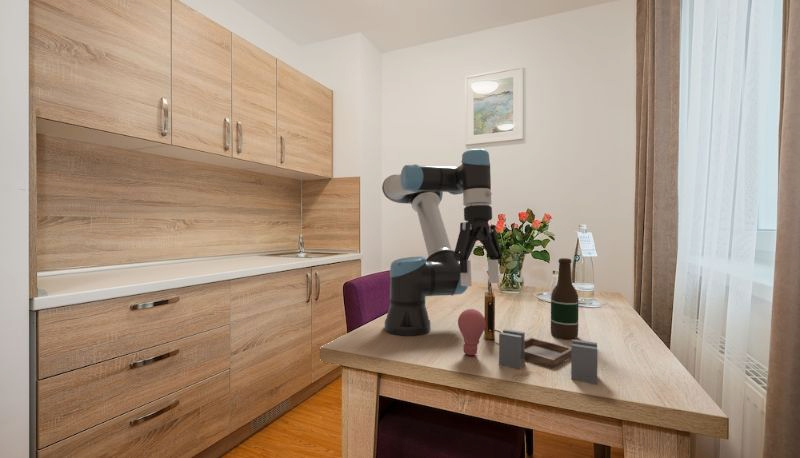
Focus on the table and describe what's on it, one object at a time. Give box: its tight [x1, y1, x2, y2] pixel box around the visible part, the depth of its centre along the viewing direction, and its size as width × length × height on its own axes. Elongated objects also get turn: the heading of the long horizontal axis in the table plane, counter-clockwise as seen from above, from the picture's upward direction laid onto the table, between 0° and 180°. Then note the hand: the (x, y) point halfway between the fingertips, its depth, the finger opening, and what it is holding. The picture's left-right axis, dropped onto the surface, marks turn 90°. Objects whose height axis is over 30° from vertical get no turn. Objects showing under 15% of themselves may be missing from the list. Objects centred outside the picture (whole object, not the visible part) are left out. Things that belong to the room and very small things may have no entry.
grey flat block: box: [570, 339, 598, 385], centre depth 78 cm, size 5×5×8 cm
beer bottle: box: [550, 257, 580, 340], centre depth 108 cm, size 8×8×24 cm
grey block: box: [498, 328, 526, 370], centre depth 86 cm, size 5×5×8 cm
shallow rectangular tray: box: [524, 337, 572, 369], centre depth 92 cm, size 12×12×2 cm
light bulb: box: [457, 308, 486, 356], centre depth 91 cm, size 7×7×12 cm
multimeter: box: [483, 270, 502, 345], centre depth 106 cm, size 15×10×20 cm
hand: (480, 284), depth 94 cm, fingers open, 13 cm apart
